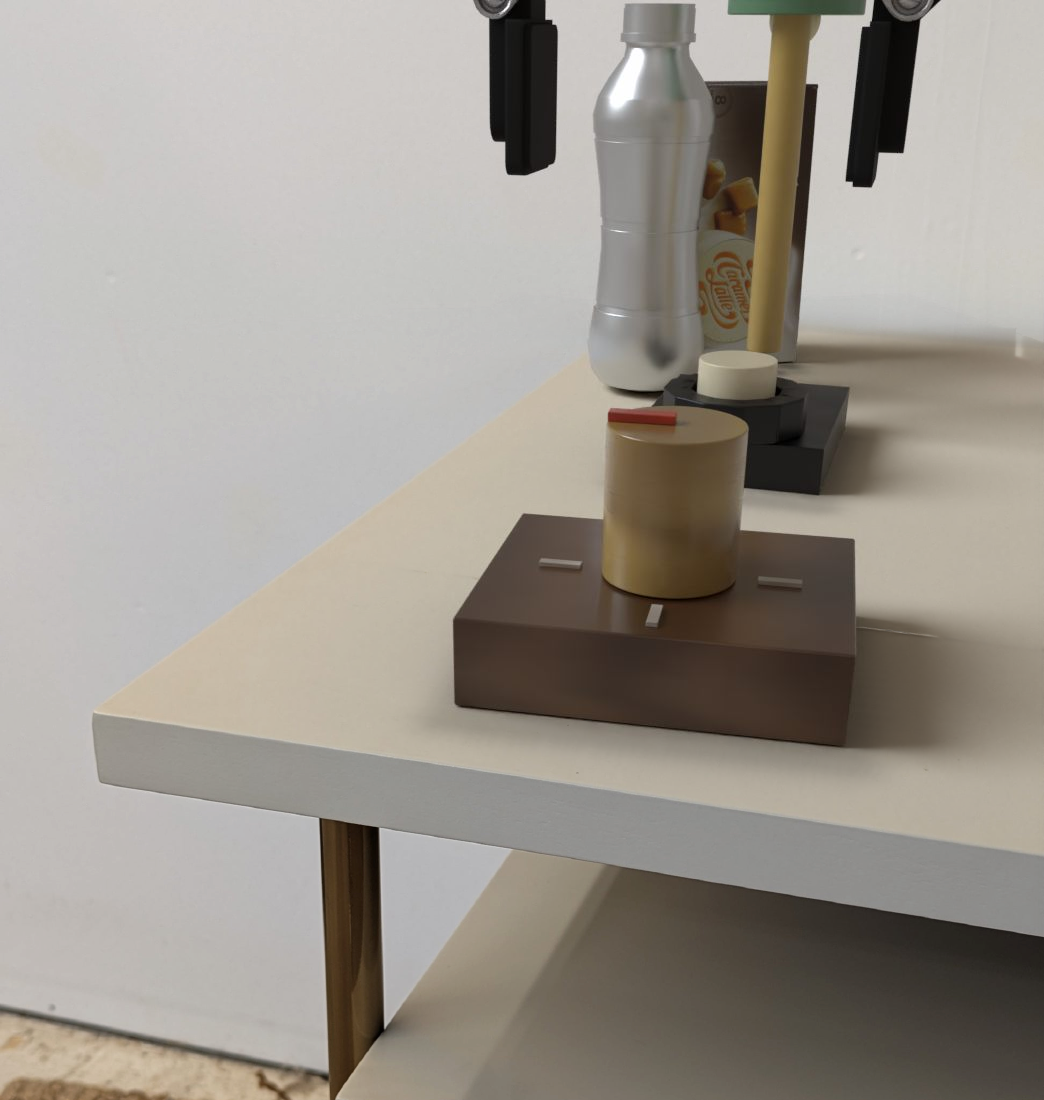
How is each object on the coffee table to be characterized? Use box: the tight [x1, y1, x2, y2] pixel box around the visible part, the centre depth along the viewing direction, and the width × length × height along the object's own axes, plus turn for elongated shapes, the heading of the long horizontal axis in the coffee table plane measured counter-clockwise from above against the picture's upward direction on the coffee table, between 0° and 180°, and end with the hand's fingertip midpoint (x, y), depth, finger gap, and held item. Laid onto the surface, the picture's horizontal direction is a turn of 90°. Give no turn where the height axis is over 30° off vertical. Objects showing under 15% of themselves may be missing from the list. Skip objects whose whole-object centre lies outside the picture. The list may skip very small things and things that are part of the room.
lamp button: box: [697, 350, 779, 400], centre depth 62 cm, size 4×4×2 cm
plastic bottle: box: [587, 2, 716, 393], centre depth 73 cm, size 6×7×20 cm
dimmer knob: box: [601, 406, 749, 599], centre depth 42 cm, size 4×4×5 cm
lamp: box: [726, 0, 867, 353], centre depth 65 cm, size 6×6×20 cm
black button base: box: [650, 373, 851, 496], centre depth 65 cm, size 13×9×4 cm
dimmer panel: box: [452, 512, 857, 747], centre depth 44 cm, size 12×10×3 cm
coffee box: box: [698, 80, 819, 363], centre depth 82 cm, size 9×6×16 cm
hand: (691, 175), depth 38 cm, fingers open, 9 cm apart
